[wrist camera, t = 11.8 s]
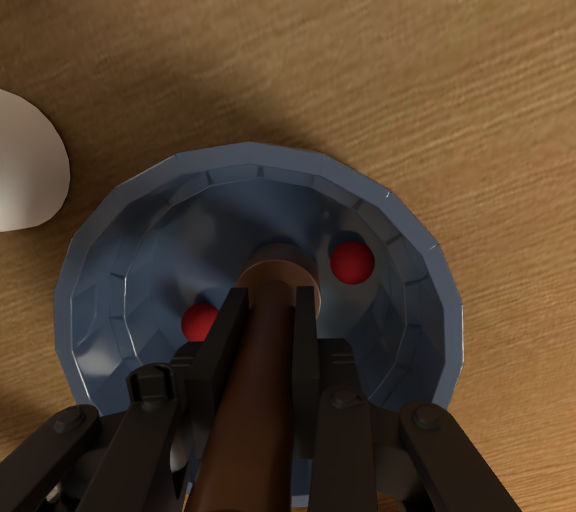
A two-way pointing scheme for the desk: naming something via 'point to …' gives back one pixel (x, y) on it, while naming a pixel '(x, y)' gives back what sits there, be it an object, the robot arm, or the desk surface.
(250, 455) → the muddler
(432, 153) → the desk surface
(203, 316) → the cherry
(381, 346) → the mixing bowl
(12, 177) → the cup
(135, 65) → the desk surface
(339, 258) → the cherry
